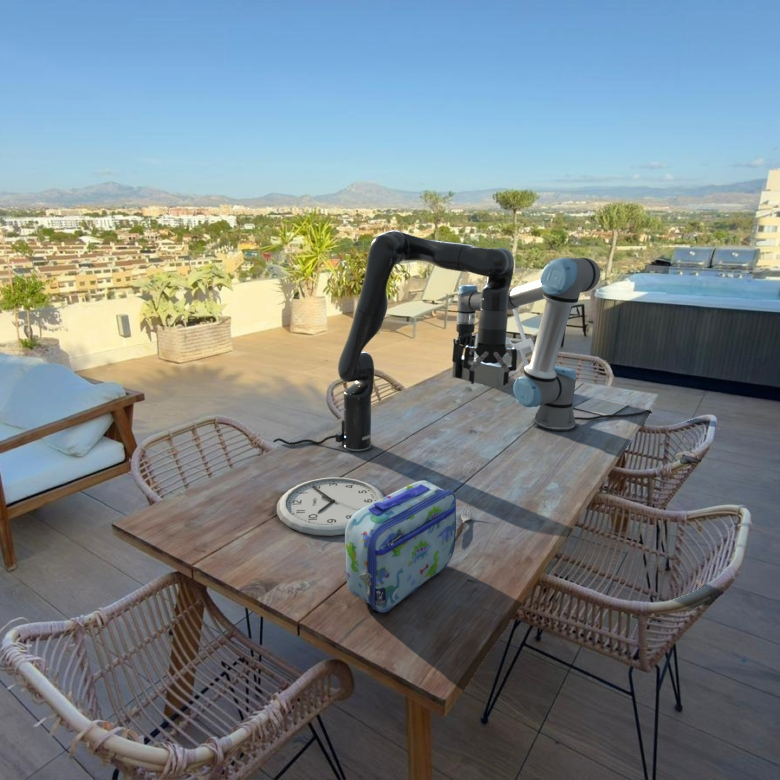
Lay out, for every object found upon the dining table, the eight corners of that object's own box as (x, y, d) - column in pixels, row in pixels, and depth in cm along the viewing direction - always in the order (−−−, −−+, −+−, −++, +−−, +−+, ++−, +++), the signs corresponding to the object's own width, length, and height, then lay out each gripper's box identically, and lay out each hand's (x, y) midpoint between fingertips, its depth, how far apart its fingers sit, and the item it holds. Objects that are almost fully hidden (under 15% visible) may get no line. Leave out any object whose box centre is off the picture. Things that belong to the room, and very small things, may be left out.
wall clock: (392, 527, 129) (268, 531, 127) (391, 533, 130) (269, 537, 127) (383, 473, 158) (282, 475, 155) (383, 478, 158) (282, 480, 156)
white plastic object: (482, 418, 266) (461, 395, 241) (463, 346, 288) (443, 318, 264) (553, 394, 254) (538, 368, 229) (528, 321, 276) (512, 289, 251)
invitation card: (608, 416, 214) (573, 407, 224) (608, 416, 214) (573, 408, 224) (628, 404, 229) (594, 396, 238) (628, 405, 229) (594, 397, 238)
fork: (449, 542, 127) (449, 535, 126) (463, 510, 141) (464, 504, 140) (459, 544, 126) (460, 537, 125) (473, 512, 140) (473, 506, 139)
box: (452, 377, 225) (453, 357, 222) (459, 374, 229) (461, 355, 226) (497, 388, 211) (499, 367, 208) (504, 385, 215) (506, 364, 212)
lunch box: (374, 626, 100) (375, 530, 93) (338, 598, 107) (337, 508, 101) (459, 568, 117) (465, 484, 111) (424, 547, 124) (427, 467, 118)
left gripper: (465, 327, 137) (462, 386, 141) (521, 329, 135) (515, 389, 140) (465, 322, 144) (461, 379, 149) (518, 324, 142) (512, 381, 147)
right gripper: (460, 326, 209) (457, 382, 215) (485, 321, 222) (481, 373, 229) (445, 324, 213) (442, 378, 220) (470, 318, 227) (467, 370, 234)
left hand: (488, 384), depth 144 cm, fingers open, 8 cm apart
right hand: (462, 376), depth 225 cm, fingers closed on box, 6 cm apart
